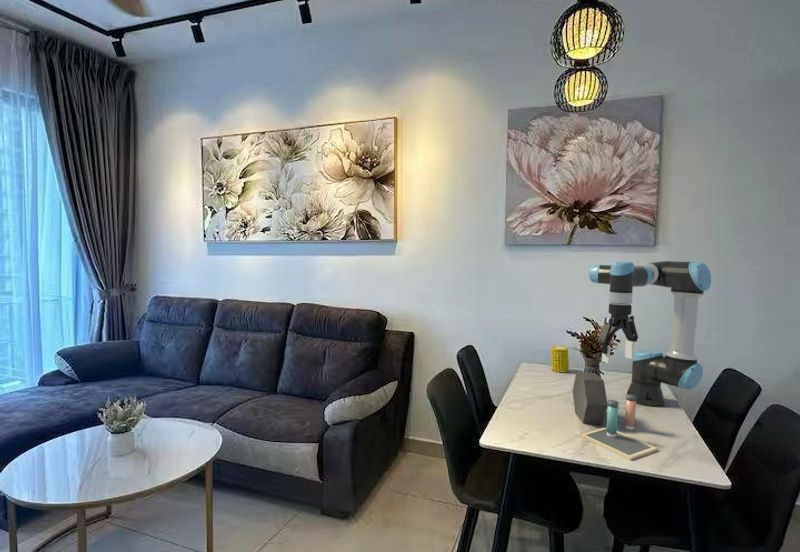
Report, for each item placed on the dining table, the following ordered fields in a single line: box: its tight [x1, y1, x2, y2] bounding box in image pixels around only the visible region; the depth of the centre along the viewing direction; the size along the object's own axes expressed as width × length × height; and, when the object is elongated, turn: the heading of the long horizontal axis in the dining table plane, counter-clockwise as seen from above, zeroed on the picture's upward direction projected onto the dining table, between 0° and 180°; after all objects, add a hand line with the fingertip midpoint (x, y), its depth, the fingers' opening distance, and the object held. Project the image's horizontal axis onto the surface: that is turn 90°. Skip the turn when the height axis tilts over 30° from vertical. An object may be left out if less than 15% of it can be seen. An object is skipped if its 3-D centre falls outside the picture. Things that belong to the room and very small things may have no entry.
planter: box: [572, 371, 608, 425], centre depth 173 cm, size 17×8×21 cm
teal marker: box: [606, 399, 619, 438], centre depth 155 cm, size 4×4×13 cm
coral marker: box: [624, 393, 637, 431], centre depth 164 cm, size 4×4×13 cm
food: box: [549, 344, 570, 373], centre depth 241 cm, size 15×12×10 cm
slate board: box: [579, 426, 659, 461], centre depth 152 cm, size 15×19×1 cm
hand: (617, 360), depth 158 cm, fingers open, 13 cm apart
